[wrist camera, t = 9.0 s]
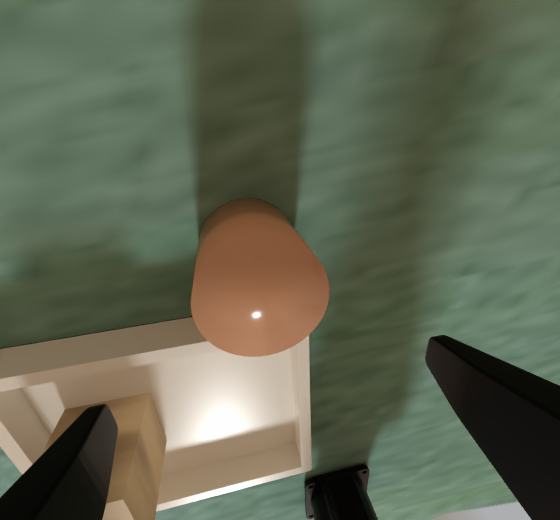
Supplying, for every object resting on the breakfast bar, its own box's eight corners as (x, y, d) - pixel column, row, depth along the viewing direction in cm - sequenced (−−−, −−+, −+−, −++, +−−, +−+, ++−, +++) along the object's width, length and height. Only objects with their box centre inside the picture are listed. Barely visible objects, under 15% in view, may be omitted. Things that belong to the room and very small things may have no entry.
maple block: (92, 457, 20) (48, 577, 15) (64, 409, 18) (1, 530, 13) (166, 440, 21) (150, 548, 15) (149, 392, 19) (123, 499, 13)
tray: (302, 439, 25) (311, 470, 23) (84, 493, 22) (69, 534, 20) (297, 299, 19) (308, 322, 16) (-10, 350, 16) (-47, 387, 14)
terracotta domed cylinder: (295, 279, 18) (328, 343, 13) (207, 292, 17) (204, 367, 12) (291, 193, 16) (330, 228, 10) (190, 204, 15) (176, 248, 10)
